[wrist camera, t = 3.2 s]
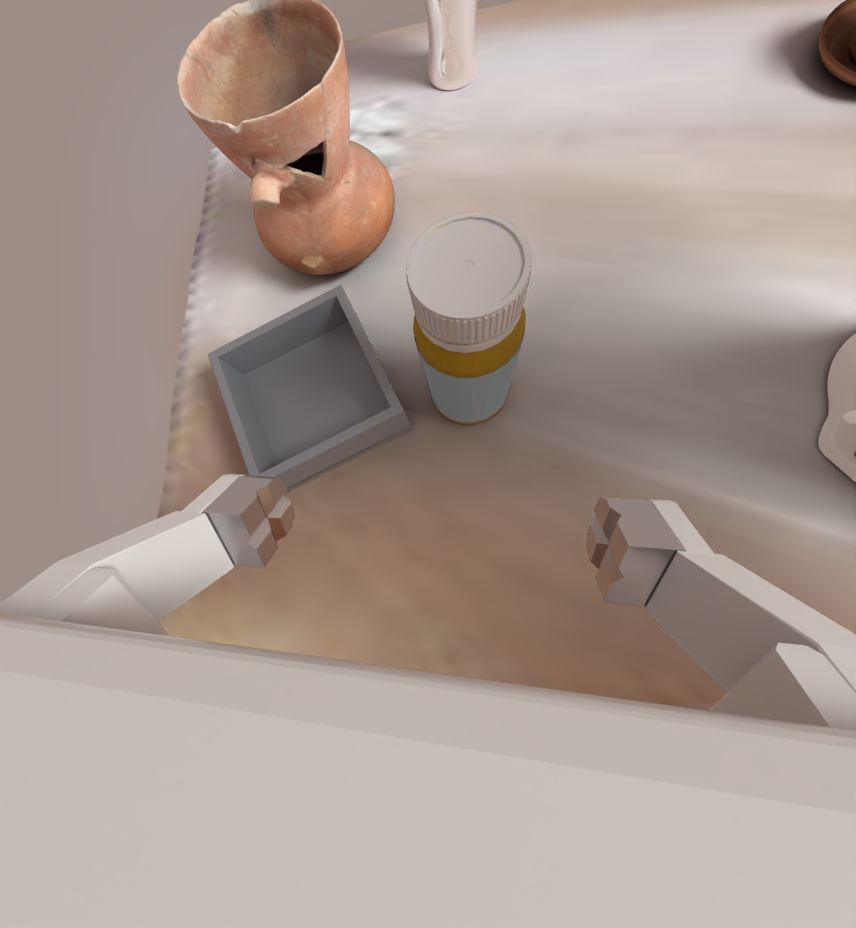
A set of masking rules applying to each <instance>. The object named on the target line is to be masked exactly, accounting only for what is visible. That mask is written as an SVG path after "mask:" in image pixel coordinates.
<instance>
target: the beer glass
mask: <svg viewBox="0 0 856 928" xmlns="http://www.w3.org/2000/svg"><path fill="white" fill-rule="evenodd" d="M423 4H424V9H425V15H426V21H427V29H428V40H429V58H428V77H429V80H430V82H431V84H432V85H433V86H435V87H436V88H438V89H441V90H447V91H450V90H457V89H460V88H463V87H465V86H467V85H468V84H469V83H471V82H472V81H473V80H474V79H475V77H476V76H477V74H478V72H479V55H478V47H477V36H476V19H477V5H478V0H423Z"/></svg>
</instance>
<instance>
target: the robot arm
mask: <svg viewBox="0 0 856 928" xmlns="http://www.w3.org/2000/svg"><path fill="white" fill-rule="evenodd" d="M827 390H828V401H829V413H828V417H827V419H826V421H825V423H824V425H823V427H822V430H821V432H820V435H819V440H818V445H819V448H820V450H821V452H822V453H823V454H824V455H825V456H826V457H827V458H828V459H829V460H830V461H831V462H833V463H834V464H835V465H836V466H837V467H838V468H840V469H841V470H842V471H843V472H844V473H845V474H846V475H848V476H849V477H850V478H851V479H852V480H853V481H855V482H856V457H855V455H856V333H855V334H854V335H853V336H851V337H850V338H849V339H848V340H847V341H846V342H845V343H844V344H843V345H842V346H841V348H840V349H839V350H838V352H837V354H836V355H835V357H834V359H833V361H832V364H831V367H830V370H829V375H828V383H827ZM854 454H855V455H854ZM286 491H287V488H286V485H285V483H284V480H282V479H280V478H278V477H267V476H255V475H241V474H226V475H222V476H221V477H220V478H219V479H218V480H217V481H215V482H214V483H213V484H212V485H211V486H210V487H209V488H207V489H206V490H205V491H204V492H203V493H202V494H201V495H199V496H198V497H197V498H196V499H195V500H194V501H192V502H191V503H190V504H189V505H188V506H187V507H186V508H184V509H183V510H182V511H175V512H172V513H170V514H168V515H165V516H163V517H161V518H158V519H156V520H154V521H151V522H149V523H146V524H144V525H142V526H139V527H137V528H135V529H132V530H130V531H128V532H125V533H123V534H121V535H118V536H116V537H113V538H111V539H109V540H107V541H104V542H102V543H99V544H97V545H95V546H92V547H90V548H88V549H85V550H83V551H81V552H78V553H76V554H73V555H71V556H69V557H66V558H64V559H62V560H59V561H57V562H56V563H54V564H53V565H52V566H50V567H49V568H48V569H46V570H45V571H43V572H42V573H41V574H39V575H38V576H37V577H35V578H34V579H33V580H31V581H30V582H29V583H27V584H26V585H25V586H23V587H22V588H21V589H19V590H18V591H16V592H15V593H14V594H12V595H11V596H10V597H8V598H7V599H6V600H4V601H3V602H2V603H0V928H856V634H854V633H852V632H851V631H849V630H847V629H846V628H844V627H842V626H841V625H839V624H837V623H836V622H834V621H832V620H831V619H829V618H827V617H826V616H824V615H822V614H821V613H819V612H817V611H816V610H814V609H812V608H811V607H809V606H807V605H806V604H804V603H802V602H801V601H799V600H797V599H796V598H794V597H792V596H791V595H789V594H787V593H786V592H784V591H782V590H781V589H779V588H777V587H776V586H774V585H772V584H771V583H769V582H768V581H766V580H764V579H763V578H761V577H759V576H758V575H756V574H754V573H753V572H751V571H749V570H748V569H746V568H744V567H743V566H741V565H739V564H738V563H736V562H734V561H733V560H731V559H729V558H728V557H726V556H724V555H722V554H714V553H713V551H712V550H711V549H710V547H709V546H708V545H707V543H706V542H705V541H704V539H703V538H702V537H701V535H700V534H699V533H698V531H697V530H696V529H695V527H694V526H693V525H692V523H691V522H690V521H689V519H688V518H687V517H686V515H685V514H684V513H683V511H682V510H681V509H680V507H679V506H678V505H677V504H676V503H675V502H673V501H671V500H653V499H647V500H639V499H621V498H603V497H601V498H600V499H599V500H598V502H597V504H596V507H595V513H596V515H597V518H598V519H596V520H595V521H593V522H592V523H591V524H590V526H589V529H588V533H587V551H588V555H589V558H590V562H591V563H592V564H594V565H595V566H596V567H597V568H598V569H599V570H598V573H597V576H596V579H597V582H598V585H599V588H600V591H601V594H602V597H603V600H604V602H606V603H614V604H622V605H630V606H638V607H645V610H646V611H647V612H648V613H649V614H650V615H651V616H652V617H653V618H654V619H655V620H656V621H657V622H658V623H659V624H660V625H661V626H662V627H663V628H664V630H665V631H666V632H667V633H668V634H669V635H670V636H671V637H672V638H673V639H674V640H675V641H676V642H677V643H678V644H679V645H680V646H681V647H682V648H683V649H684V650H685V651H686V652H687V653H688V654H689V655H690V656H691V657H692V658H693V659H694V660H695V661H696V662H697V663H698V665H699V666H700V667H701V668H702V669H703V670H704V671H705V672H706V673H707V674H708V675H709V676H710V677H711V678H712V679H713V680H714V681H715V682H716V683H717V684H718V685H719V686H720V687H721V688H722V689H723V690H724V691H725V692H726V694H725V695H724V696H723V697H722V698H721V699H720V700H719V701H718V702H717V703H716V704H715V705H714V706H713V707H712V708H711V709H710V711H706V710H699V709H691V708H685V707H677V706H670V705H663V704H656V703H648V702H641V701H634V700H627V699H620V698H612V697H605V696H598V695H591V694H583V693H576V692H569V691H562V690H555V689H547V688H540V687H533V686H526V685H518V684H511V683H504V682H497V681H490V680H482V679H475V678H468V677H461V676H454V675H446V674H439V673H432V672H425V671H418V670H410V669H403V668H396V667H389V666H382V665H375V664H367V663H360V662H353V661H346V660H339V659H331V658H324V657H317V656H309V655H302V654H295V653H288V652H280V651H273V650H266V649H259V648H251V647H244V646H237V645H230V644H222V643H215V642H208V641H201V640H193V639H186V638H179V637H172V636H168V633H167V632H166V630H165V629H164V628H163V627H162V626H161V625H160V623H159V621H160V620H162V619H163V618H164V617H166V616H167V615H169V614H170V613H171V612H173V611H174V610H175V609H177V608H178V607H180V606H181V605H182V604H184V603H185V602H187V601H188V600H189V599H191V598H192V597H194V596H195V595H196V594H198V593H199V592H201V591H202V590H203V589H205V588H206V587H207V586H209V585H210V584H212V583H213V582H214V581H216V580H217V579H219V578H220V577H221V576H223V575H224V574H226V573H227V572H228V571H230V570H231V569H232V568H234V566H248V567H262V568H265V566H266V565H267V563H268V562H269V560H270V559H271V558H272V556H273V555H274V553H275V552H276V550H277V549H278V545H277V541H278V540H280V539H282V538H283V537H285V536H287V534H288V532H289V531H290V529H291V528H292V524H293V520H294V508H293V505H292V502H290V501H289V500H288V499H287V498H286V497H285V496H284V495H285V493H286Z"/></svg>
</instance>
